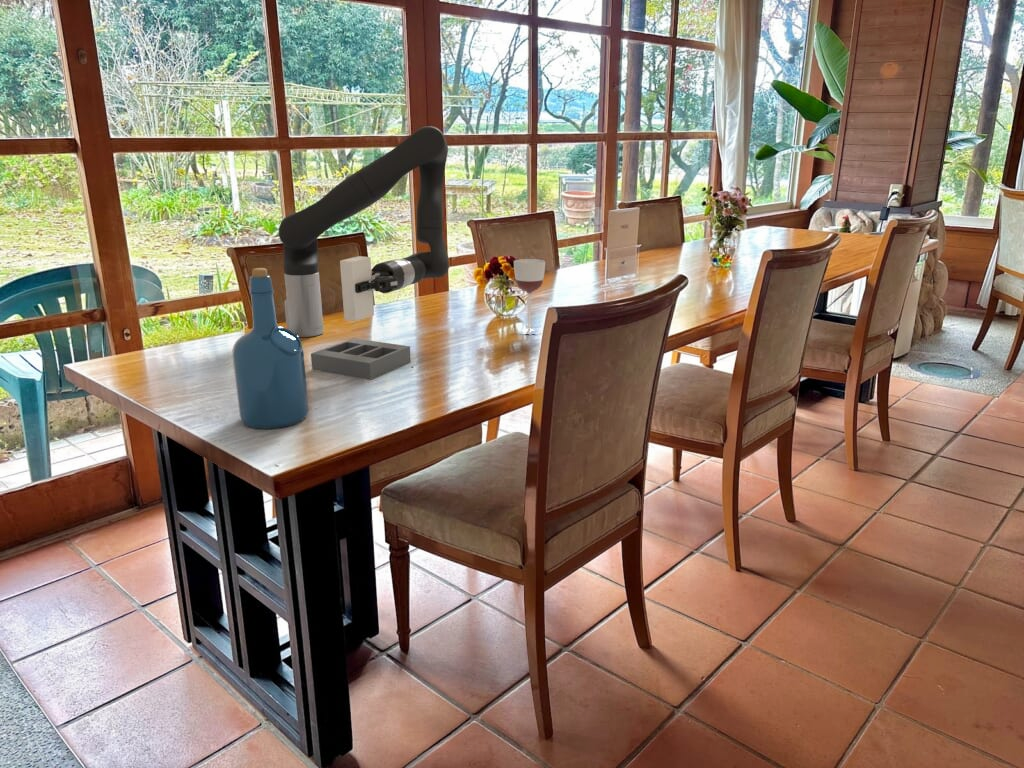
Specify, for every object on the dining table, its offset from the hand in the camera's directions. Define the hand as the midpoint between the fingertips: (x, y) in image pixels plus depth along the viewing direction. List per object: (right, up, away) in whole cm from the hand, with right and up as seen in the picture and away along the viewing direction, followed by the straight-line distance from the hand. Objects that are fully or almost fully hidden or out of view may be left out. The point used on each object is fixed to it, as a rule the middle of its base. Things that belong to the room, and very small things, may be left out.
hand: (349, 287), depth 180 cm
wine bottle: (-9, -29, -26) cm, 40 cm away
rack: (+1, -18, +8) cm, 20 cm away
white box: (+1, -6, +5) cm, 8 cm away
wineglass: (+43, -8, +39) cm, 59 cm away
